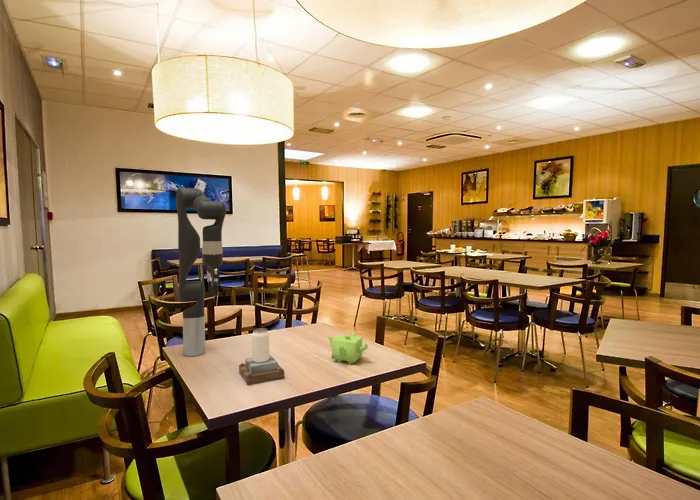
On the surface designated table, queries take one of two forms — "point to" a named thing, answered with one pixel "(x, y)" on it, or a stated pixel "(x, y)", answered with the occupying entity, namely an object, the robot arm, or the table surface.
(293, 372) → the table surface
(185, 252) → the robot arm
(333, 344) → the kettle
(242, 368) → the grey block on base
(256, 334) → the can
